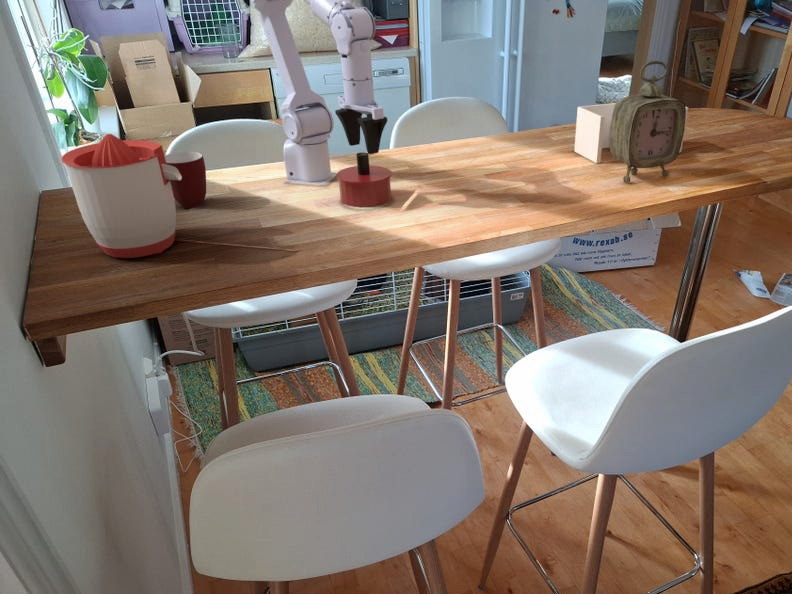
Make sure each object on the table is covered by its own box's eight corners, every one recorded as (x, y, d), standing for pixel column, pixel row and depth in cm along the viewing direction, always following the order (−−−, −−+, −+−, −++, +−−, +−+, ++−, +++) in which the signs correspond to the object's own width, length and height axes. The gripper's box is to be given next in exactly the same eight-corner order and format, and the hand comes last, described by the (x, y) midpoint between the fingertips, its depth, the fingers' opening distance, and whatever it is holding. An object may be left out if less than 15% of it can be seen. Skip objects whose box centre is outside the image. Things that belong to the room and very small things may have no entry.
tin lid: (328, 185, 139) (325, 160, 136) (348, 168, 148) (346, 144, 145) (381, 189, 137) (379, 163, 134) (398, 172, 146) (397, 148, 143)
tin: (333, 207, 141) (330, 182, 138) (351, 191, 150) (349, 166, 147) (382, 211, 140) (380, 185, 137) (397, 194, 148) (396, 169, 145)
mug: (159, 216, 137) (146, 166, 131) (157, 203, 143) (145, 155, 137) (215, 209, 140) (204, 160, 135) (211, 197, 146) (200, 149, 141)
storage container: (656, 141, 185) (662, 98, 179) (681, 152, 176) (688, 107, 170) (574, 151, 177) (577, 106, 171) (596, 163, 168) (600, 116, 162)
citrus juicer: (194, 258, 120) (166, 141, 109) (84, 269, 116) (44, 150, 105) (198, 225, 133) (173, 118, 122) (99, 235, 129) (65, 125, 118)
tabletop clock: (623, 186, 154) (638, 66, 140) (601, 174, 160) (613, 59, 147) (676, 178, 159) (695, 61, 145) (652, 167, 166) (668, 55, 152)
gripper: (321, 74, 136) (329, 144, 143) (358, 86, 127) (364, 160, 134) (353, 70, 140) (359, 138, 147) (390, 82, 130) (395, 154, 138)
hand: (363, 148), depth 141 cm, fingers open, 7 cm apart
